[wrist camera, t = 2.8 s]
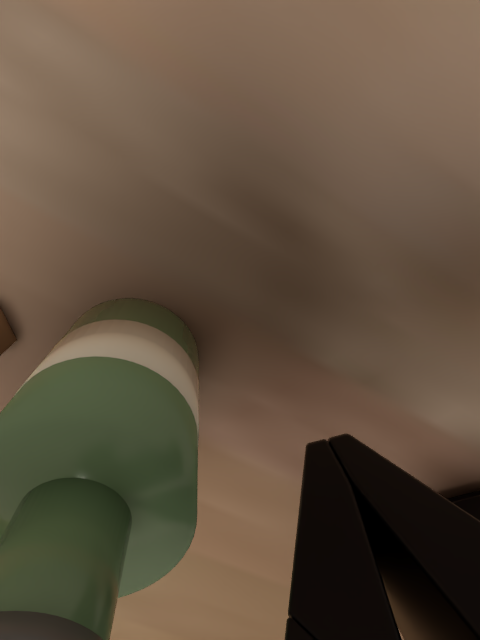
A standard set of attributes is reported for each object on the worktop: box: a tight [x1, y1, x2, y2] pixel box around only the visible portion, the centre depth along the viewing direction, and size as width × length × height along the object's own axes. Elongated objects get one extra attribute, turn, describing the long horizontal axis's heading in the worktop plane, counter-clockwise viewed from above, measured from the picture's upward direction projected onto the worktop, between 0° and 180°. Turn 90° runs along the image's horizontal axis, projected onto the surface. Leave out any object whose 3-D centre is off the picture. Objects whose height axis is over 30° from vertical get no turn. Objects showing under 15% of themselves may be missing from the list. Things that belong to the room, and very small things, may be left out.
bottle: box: [0, 298, 199, 640], centre depth 10 cm, size 5×5×10 cm
